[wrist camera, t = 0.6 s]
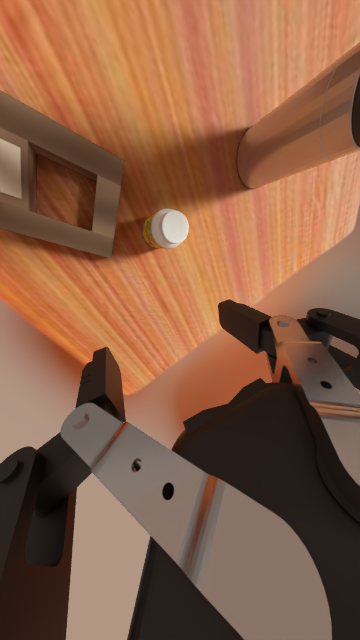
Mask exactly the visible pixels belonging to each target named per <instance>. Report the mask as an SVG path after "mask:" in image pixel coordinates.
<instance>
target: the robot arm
mask: <svg viewBox="0 0 360 640" xmlns="http://www.w3.org/2000/svg"><path fill="white" fill-rule="evenodd" d="M359 150H360V43H358V44H357V45H356V46H355V47H353V48H352V49H351V50H349V51H348V52H347V53H346V54H345V55H343V56H342V57H341V58H339V59H338V60H337V61H336V62H334V63H333V64H332V65H331V66H329V67H328V68H327V69H325V70H324V71H323V72H322V73H320V74H319V75H318V76H316V77H315V78H314V79H313V80H311V81H310V82H309V83H307V84H306V85H305V86H304V87H302V88H301V89H300V90H298V91H297V92H296V93H295V94H293V95H292V96H291V97H290V98H288V99H287V100H286V101H284V102H283V103H282V104H281V105H279V106H278V107H277V108H275V109H274V110H273V111H272V112H270V113H269V114H268V115H266V116H265V117H264V118H262V119H261V120H260V121H259V122H257V123H256V124H255V125H254V126H252V127H251V128H250V129H249V130H247V132H246V133H245V134H244V136H243V138H242V140H241V142H240V146H239V149H238V156H237V166H238V172H239V176H240V178H241V180H242V182H243V184H244V185H245V186H247V187H248V188H252V189H253V188H258V187H260V186H263V185H266V184H269V183H271V182H274V181H277V180H280V179H283V178H285V177H288V176H291V175H293V174H296V173H299V172H302V171H304V170H307V169H310V168H313V167H315V166H318V165H321V164H324V163H326V162H329V161H332V160H334V159H337V158H340V157H342V156H345V155H348V154H351V153H353V152H356V151H359ZM218 310H219V322H220V325H221V326H222V328H223V329H225V330H226V331H227V332H229V333H230V334H231V335H232V336H234V337H235V338H237V339H238V340H239V341H240V342H242V343H243V344H244V345H246V346H247V347H248V348H250V349H251V350H252V351H254V352H255V353H256V354H258V353H260V352H261V351H265V352H266V354H265V356H266V360H267V364H268V368H269V371H270V375H271V379H272V383H265V382H264V381H263V380H262V379H261V378H259V379H257V380H256V381H254V382H252V383H250V384H249V385H247V386H245V387H243V388H242V389H241V391H240V392H239V393H238V394H237V395H236V396H235V397H234V398H233V399H232V400H231V401H230V402H229V403H228V404H225V405H221V406H217V407H214V408H210V409H206V410H203V411H201V412H200V413H198V414H196V415H194V416H193V417H191V418H189V419H187V420H186V421H184V422H183V424H184V426H185V430H184V431H183V433H182V434H181V435H180V436H179V438H178V439H177V440H176V442H175V444H174V446H173V448H172V450H170V449H168V448H167V447H165V446H164V445H162V444H161V443H159V442H158V441H156V440H154V439H153V438H152V437H150V436H148V435H147V434H145V433H144V432H142V431H141V430H139V429H138V428H136V427H134V426H133V425H132V424H130V423H128V422H125V421H126V419H125V409H124V400H123V390H122V381H121V372H120V369H119V366H118V364H117V362H116V360H115V359H114V357H113V355H112V353H111V352H110V350H109V348H108V347H105V348H102V349H99V350H97V351H94V353H93V361H92V362H89V363H87V365H86V366H85V368H84V369H83V371H82V376H81V382H80V388H79V392H78V398H77V403H76V409H75V410H73V411H72V412H71V413H70V414H69V415H68V417H67V418H66V419H65V421H64V422H63V425H62V427H61V432H60V433H59V434H57V435H56V436H55V437H53V438H52V439H51V440H50V441H48V442H47V443H46V444H44V445H43V446H42V447H40V448H39V449H38V450H36V449H34V448H33V447H24V448H21V449H19V450H17V451H16V452H14V453H13V454H11V455H10V456H9V457H7V458H6V459H5V460H4V461H3V462H2V463H1V464H0V640H66V628H67V614H68V600H69V586H70V574H71V559H72V546H73V531H74V518H75V505H76V491H77V487H78V486H79V485H80V484H81V483H82V482H83V480H85V479H86V478H87V477H88V476H89V475H90V474H91V473H93V474H94V475H95V476H96V477H97V478H98V479H99V480H100V482H101V483H102V484H103V485H104V486H105V487H106V488H107V489H108V490H109V491H110V492H111V493H112V494H113V496H114V497H115V498H116V499H117V500H118V501H119V502H120V503H121V504H122V505H123V506H124V507H125V508H126V509H127V511H128V512H129V513H130V514H131V515H132V516H133V517H134V518H135V519H136V520H137V521H138V522H139V523H140V524H141V526H143V528H144V529H145V530H146V531H147V532H148V533H149V534H150V535H151V536H150V541H149V545H148V549H147V554H146V558H145V563H144V567H143V572H142V576H141V581H140V585H139V590H138V594H137V598H136V603H135V607H134V612H133V616H132V620H131V625H130V629H129V634H128V639H127V640H360V394H359V393H358V391H357V390H356V389H355V388H357V389H359V390H360V319H356V318H353V317H351V316H348V315H345V314H342V313H339V312H336V311H333V310H330V309H324V308H315V309H311V310H309V311H308V312H307V316H306V318H303V319H297V320H296V319H294V318H292V317H289V316H283V315H279V316H274V317H271V316H268V315H266V314H264V313H262V312H260V311H258V310H255V309H253V308H250V307H249V306H247V305H245V304H239V303H236V302H234V301H232V300H229V299H228V300H226V301H223V302H221V303H219V305H218ZM333 336H335V337H337V338H339V339H341V340H344V341H346V342H348V343H350V344H352V345H354V346H355V347H356V348H357V349H358V351H359V355H358V356H357V358H355V357H353V356H351V355H349V354H347V353H345V352H343V351H341V350H339V349H337V348H335V347H333V346H331V345H330V343H331V340H332V337H333ZM123 422H125V423H123Z"/></svg>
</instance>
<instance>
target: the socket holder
mask: <svg viewBox="0 0 360 640" xmlns="http://www.w3.org/2000/svg"><path fill="white" fill-rule="evenodd" d="M37 154H39V155H41V156H43V157H45V158H48V159H50V160H52V161H54V162H56V163H58V164H60V165H63V166H65V167H67V168H69V169H71V170H73V171H75V172H78V173H80V174H82V175H84V176H86V177H88V178H90V179H92V180H95V181H97V185H96V195H95V205H94V216H93V226H92V231H89V230H86V229H83V228H80V227H77V226H74V225H71V224H68V223H65V222H62V221H59V220H56V219H53V218H50V217H46V216H43V215H40V214H37ZM123 168H124V160H122V159H121V158H119V157H117V156H115V155H114V154H112V153H110V152H108V151H107V150H105V149H103V148H101V147H100V146H98V145H96V144H94V143H92V142H91V141H89V140H87V139H85V138H84V137H82V136H80V135H78V134H77V133H75V132H73V131H71V130H70V129H68V128H66V127H64V126H63V125H61V124H59V123H57V122H55V121H54V120H52V119H50V118H48V117H47V116H45V115H43V114H41V113H40V112H38V111H36V110H34V109H33V108H31V107H29V106H27V105H25V104H24V103H22V102H20V101H18V100H17V99H15V98H13V97H11V96H10V95H8V94H6V93H4V92H3V91H1V90H0V229H4V230H8V231H11V232H15V233H19V234H23V235H26V236H30V237H34V238H37V239H41V240H45V241H49V242H52V243H56V244H60V245H63V246H67V247H71V248H75V249H78V250H82V251H86V252H89V253H93V254H97V255H101V256H104V257H108V258H111V255H112V248H113V241H114V233H115V226H116V219H117V212H118V205H119V197H120V190H121V183H122V176H123Z"/></svg>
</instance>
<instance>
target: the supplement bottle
mask: <svg viewBox="0 0 360 640" xmlns="http://www.w3.org/2000/svg"><path fill="white" fill-rule="evenodd" d="M142 231H143V236H144V239H145V241H146V242H147V243H148V244H149V245H150V246H152V247H154V248H164V249H171V248H174V247H176V246H178V245H179V244H180V243H181V242H182V241H183V240H184V239H185V238H186V236H187V234H188V221H187V219H186V217H185V216H184V215H183V214H182V213H181V212H179V211H176V210H173V209H169V208H165V209H162V210H159V211H158V212H156V213H155V214H153V215H151V216H150V217H148V218H147V219H146V221H145V222H144V225H143V229H142Z"/></svg>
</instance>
